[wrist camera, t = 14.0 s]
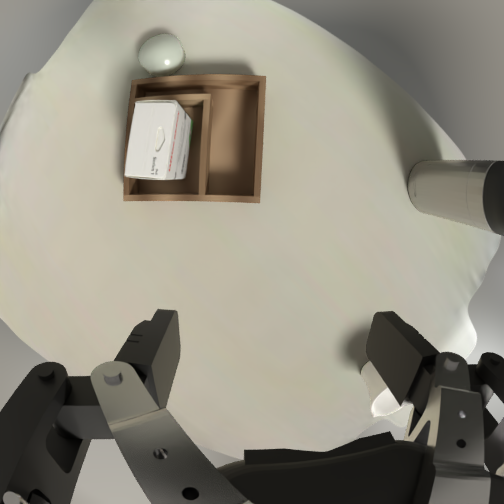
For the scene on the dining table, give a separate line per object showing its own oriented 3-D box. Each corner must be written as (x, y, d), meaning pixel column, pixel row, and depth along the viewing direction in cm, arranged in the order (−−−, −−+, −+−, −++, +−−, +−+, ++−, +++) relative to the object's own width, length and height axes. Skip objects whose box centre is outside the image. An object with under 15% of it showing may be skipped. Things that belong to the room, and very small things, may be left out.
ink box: (162, 119, 35) (133, 97, 23) (195, 121, 35) (178, 97, 24) (153, 177, 37) (120, 177, 25) (187, 180, 37) (165, 180, 26)
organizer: (263, 86, 35) (266, 76, 30) (257, 200, 39) (259, 203, 35) (142, 89, 34) (132, 80, 29) (135, 198, 38) (123, 201, 33)
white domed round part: (187, 41, 32) (183, 31, 29) (183, 75, 34) (178, 67, 30) (148, 45, 32) (141, 36, 28) (142, 79, 33) (135, 72, 30)
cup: (343, 375, 48) (361, 409, 38) (380, 343, 46) (403, 374, 37) (365, 392, 50) (382, 423, 40) (398, 363, 48) (421, 392, 39)
